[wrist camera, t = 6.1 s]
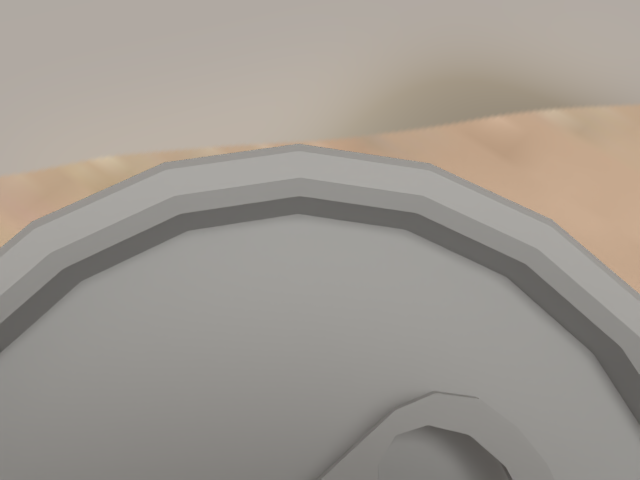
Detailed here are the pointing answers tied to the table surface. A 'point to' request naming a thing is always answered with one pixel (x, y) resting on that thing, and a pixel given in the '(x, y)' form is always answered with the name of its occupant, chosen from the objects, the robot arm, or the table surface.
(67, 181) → the table surface
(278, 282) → the can
